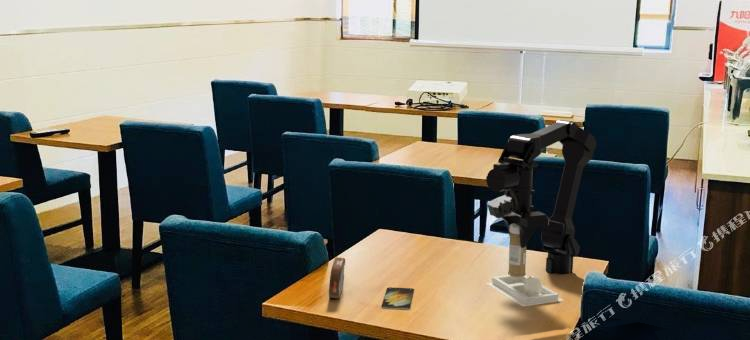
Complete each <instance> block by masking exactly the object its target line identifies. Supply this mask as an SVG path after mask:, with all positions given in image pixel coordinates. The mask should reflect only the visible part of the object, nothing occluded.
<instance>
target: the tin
mask: <svg viewBox="0 0 750 340" xmlns="http://www.w3.org/2000/svg"><path fill="white" fill-rule="evenodd" d="M345 264H346V258H345V257H337V256H335V257H334V260H333V263H332V265H331V268H330V269H331V270H330V276H329V284H328V285H329V288H328V298H329V299H340V297H341V294H342V292H343V289H344V288H343V287H344V284H345V283H344V281H345V267H346V266H345Z"/></svg>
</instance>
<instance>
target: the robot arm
mask: <svg viewBox="0 0 750 340" xmlns="http://www.w3.org/2000/svg"><path fill="white" fill-rule="evenodd" d="M558 142H559V143H560V144H561V145H562V147H561V154H562V157H563V160H564V167H563V171H562V175H561V180H560V185H559V189H558V192H557V197H556V201H555V204H554V205H555V206H554V210H553V214H552V216H550V217H549V216H548V215H547V214H545V213H543V212H541V211H538V210H537V211H535V207H536V206H535V205H532V197H533V196H534V195H536V190H534V189H533V175H534V174H533V172H534V171H533V170H534V168H537V167H538V166H539V164H538V163H537V161H535V159H536V158H538V157H539V156H540V155H541V154H542V151H543V150H544V149H545V148H547V147H550V146H552V145H554V144H556V143H558ZM596 147H597V141H596V139H595V137H594V134H591V133H590V132H589V131H587V130H585V129H583V128H582V127H580V126H579V125H578V124H577V122H574V121H573V120H565V119H558V120H556V121H555V122H554V123H552V124H550V125H547V126H544V127H543V128H540V129H539V130H536V131H533V132H532V133H520V134H513V135H511V136H510V137H509V138H508V141H506V144H505V146H504V148H503V150H502V151H501V154H500V156H499V158H498V161H497V163H493V165H492V166H493V167H492V169H490V170H489V171H488V172H487V175H486V178H485V179H486V185H487V187H488V189H489V190H490V191H492V192H494V193H500V192H504V194H503V195H501V196H498V197H496V198H494V199H491V200H490V201H488V202H487V203H486V206H487V209H488V211H489V215H490V216H493V217H495V218H496V219H500V218H501V219H502V220H503V221H504V222H505V225H506V228H507V231H508V235H509V237H510V231H509V229H510V224H513V223H515V224H516V225H517V226H518V228H519V232H520V246H521V248H525V247H526V248H527V244H529V242H530V239H531V238H532V237H533V234H534V233H535V231H536V230H537V228H539V227H540V228H541V227H542V228H541V231H540V234H541V235H540V240H541V246H542V250H543V251H544V252H547V257H546V258H545V259H546V261H545V272H547V273H549V274H551V275H552V274H554V275H556V274H557V275H569V274H573V275H575V276H577V274H576V273H575V272H573V271H574V270H573V269H574V257H577V255H579V254H580V250H581V246H580V244H579V243H578V242H577V240H576V239H575V232H576V228H575V225H574V222H573V219H572V218H573V214H574V210H575V205H576V201H577V197H578V193H579V192H578V191H579V189H580V188H579V187H580V183H581V180H582V175H583V171H584V168H585V166H587V164H588V163H589V162H590V161H591V160H592V159H593V156H594V152H595V150H596Z"/></svg>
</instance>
